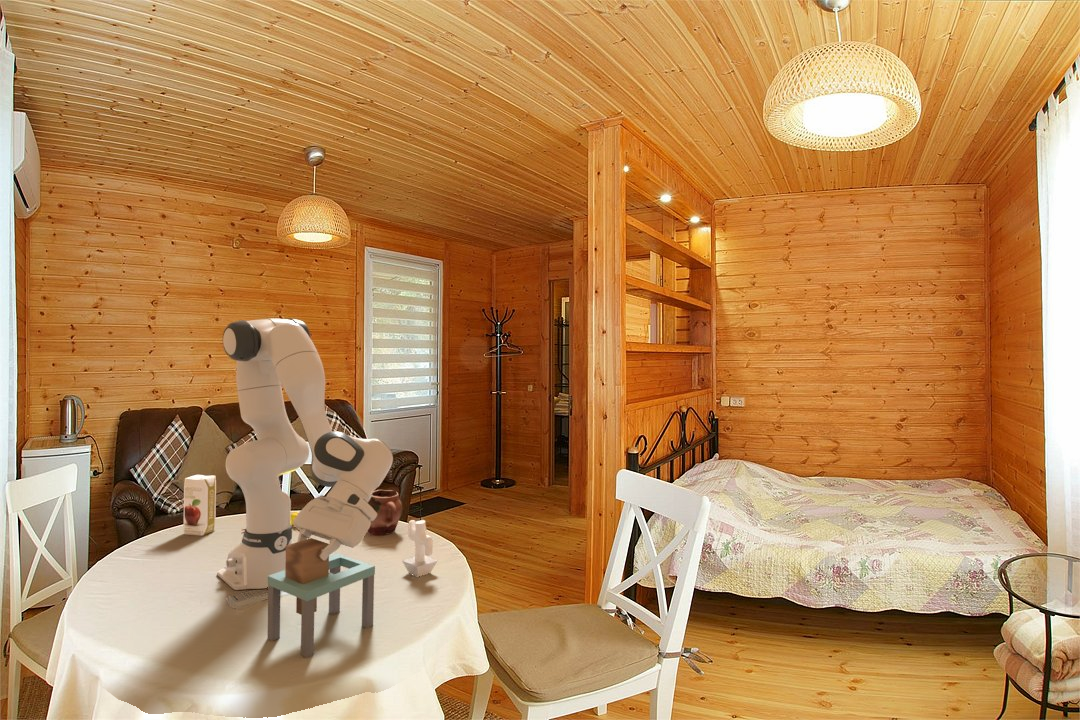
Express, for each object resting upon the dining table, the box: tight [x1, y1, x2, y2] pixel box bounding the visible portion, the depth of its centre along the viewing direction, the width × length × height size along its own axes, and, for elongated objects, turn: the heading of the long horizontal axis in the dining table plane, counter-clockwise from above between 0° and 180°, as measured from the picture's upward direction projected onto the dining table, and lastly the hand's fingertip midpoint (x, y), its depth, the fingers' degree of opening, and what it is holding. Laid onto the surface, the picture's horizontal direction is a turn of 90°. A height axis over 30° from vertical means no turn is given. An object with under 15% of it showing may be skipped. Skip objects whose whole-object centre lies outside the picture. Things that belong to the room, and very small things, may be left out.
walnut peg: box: [285, 537, 330, 615], centre depth 130 cm, size 6×6×15 cm
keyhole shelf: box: [266, 552, 376, 659], centre depth 134 cm, size 18×14×14 cm
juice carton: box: [183, 474, 217, 537], centre depth 199 cm, size 8×9×19 cm
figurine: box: [401, 519, 438, 578], centre depth 169 cm, size 7×9×15 cm
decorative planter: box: [367, 489, 403, 537], centre depth 204 cm, size 20×12×14 cm, turn 42°
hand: (308, 554), depth 130 cm, fingers open, 7 cm apart
